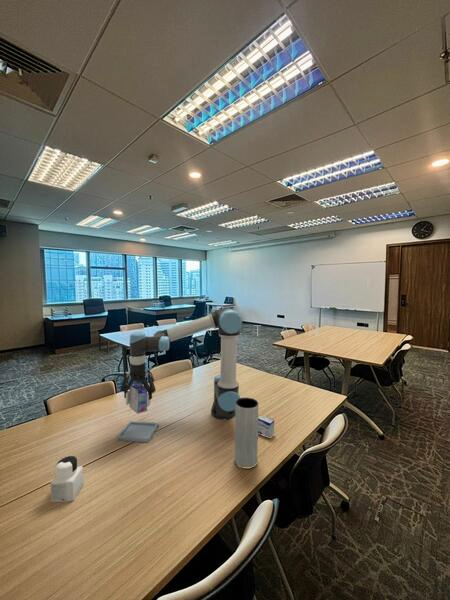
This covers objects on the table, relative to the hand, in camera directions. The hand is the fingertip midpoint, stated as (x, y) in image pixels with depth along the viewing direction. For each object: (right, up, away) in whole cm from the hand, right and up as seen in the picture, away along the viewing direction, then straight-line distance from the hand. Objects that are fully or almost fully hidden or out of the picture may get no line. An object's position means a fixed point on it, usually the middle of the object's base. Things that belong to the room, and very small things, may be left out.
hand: (138, 404), depth 131 cm
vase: (+54, -18, -19) cm, 60 cm away
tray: (0, -15, +1) cm, 15 cm away
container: (-14, -18, -37) cm, 43 cm away
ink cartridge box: (0, -3, 0) cm, 3 cm away
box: (+66, -16, +1) cm, 68 cm away
